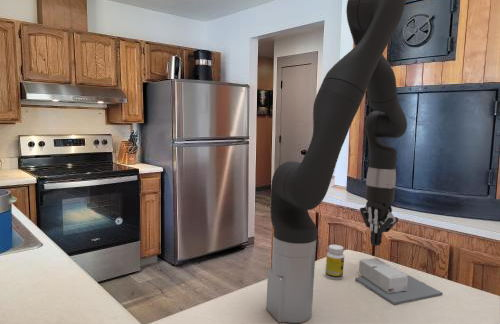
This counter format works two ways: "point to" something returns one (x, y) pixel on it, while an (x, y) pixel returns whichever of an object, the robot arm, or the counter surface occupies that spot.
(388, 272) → the skincare box
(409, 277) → the slate mat
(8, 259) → the counter surface
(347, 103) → the robot arm
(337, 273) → the supplement bottle
